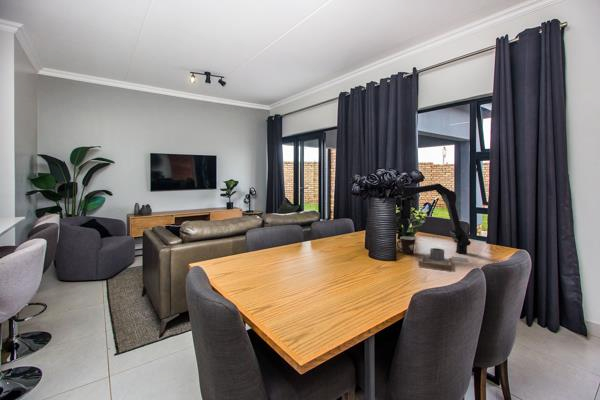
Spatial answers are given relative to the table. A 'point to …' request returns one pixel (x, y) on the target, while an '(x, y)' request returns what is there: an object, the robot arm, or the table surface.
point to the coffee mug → (407, 245)
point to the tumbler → (437, 254)
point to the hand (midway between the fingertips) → (405, 233)
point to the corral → (435, 264)
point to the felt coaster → (459, 259)
